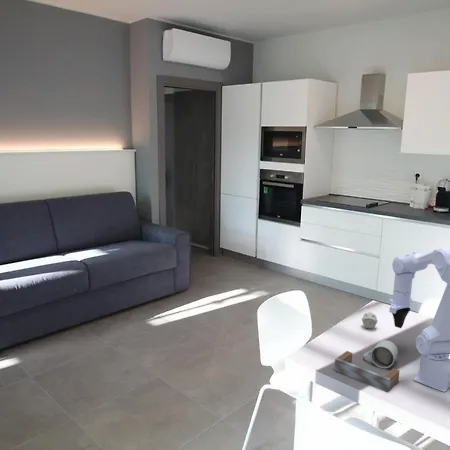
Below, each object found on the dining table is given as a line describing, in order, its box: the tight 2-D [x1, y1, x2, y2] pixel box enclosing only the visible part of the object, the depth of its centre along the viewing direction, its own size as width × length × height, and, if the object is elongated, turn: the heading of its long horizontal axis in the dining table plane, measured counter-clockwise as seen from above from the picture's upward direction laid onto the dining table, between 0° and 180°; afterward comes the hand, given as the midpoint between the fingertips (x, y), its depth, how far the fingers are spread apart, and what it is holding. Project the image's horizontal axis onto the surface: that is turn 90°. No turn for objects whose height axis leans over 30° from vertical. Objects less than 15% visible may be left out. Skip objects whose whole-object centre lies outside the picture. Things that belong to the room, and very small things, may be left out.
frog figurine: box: [361, 311, 378, 329], centre depth 177 cm, size 6×7×7 cm
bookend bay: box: [334, 350, 400, 393], centre depth 141 cm, size 18×8×4 cm, turn 47°
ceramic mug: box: [363, 339, 399, 369], centre depth 150 cm, size 11×8×8 cm
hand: (398, 326), depth 157 cm, fingers closed
